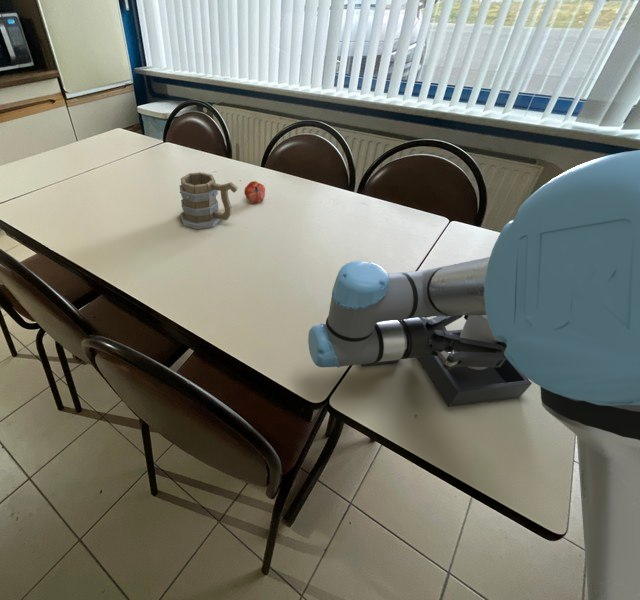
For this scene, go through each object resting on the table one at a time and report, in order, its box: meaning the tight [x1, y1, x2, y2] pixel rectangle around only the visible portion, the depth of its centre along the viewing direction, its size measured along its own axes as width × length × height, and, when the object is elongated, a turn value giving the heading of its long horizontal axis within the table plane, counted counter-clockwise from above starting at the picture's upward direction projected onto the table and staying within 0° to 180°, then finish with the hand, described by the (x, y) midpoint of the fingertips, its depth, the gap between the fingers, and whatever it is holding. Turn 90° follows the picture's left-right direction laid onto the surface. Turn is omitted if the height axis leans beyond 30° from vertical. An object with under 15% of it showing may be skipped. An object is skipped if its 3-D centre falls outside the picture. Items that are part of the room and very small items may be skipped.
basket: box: [417, 328, 533, 407], centre depth 73 cm, size 15×15×5 cm
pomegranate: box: [243, 180, 266, 204], centre depth 130 cm, size 7×7×10 cm
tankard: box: [179, 171, 239, 230], centre depth 116 cm, size 20×13×15 cm, turn 61°
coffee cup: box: [455, 315, 498, 370], centre depth 67 cm, size 10×10×15 cm
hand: (514, 326), depth 67 cm, fingers closed on coffee cup, 8 cm apart
